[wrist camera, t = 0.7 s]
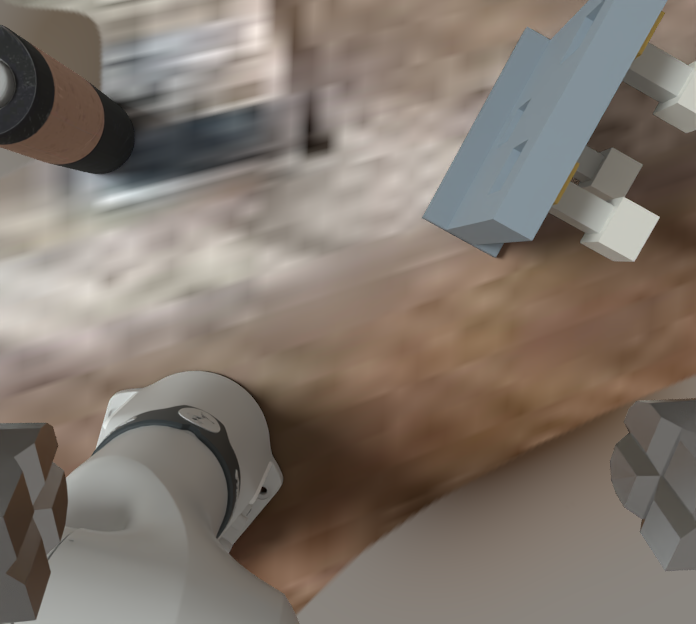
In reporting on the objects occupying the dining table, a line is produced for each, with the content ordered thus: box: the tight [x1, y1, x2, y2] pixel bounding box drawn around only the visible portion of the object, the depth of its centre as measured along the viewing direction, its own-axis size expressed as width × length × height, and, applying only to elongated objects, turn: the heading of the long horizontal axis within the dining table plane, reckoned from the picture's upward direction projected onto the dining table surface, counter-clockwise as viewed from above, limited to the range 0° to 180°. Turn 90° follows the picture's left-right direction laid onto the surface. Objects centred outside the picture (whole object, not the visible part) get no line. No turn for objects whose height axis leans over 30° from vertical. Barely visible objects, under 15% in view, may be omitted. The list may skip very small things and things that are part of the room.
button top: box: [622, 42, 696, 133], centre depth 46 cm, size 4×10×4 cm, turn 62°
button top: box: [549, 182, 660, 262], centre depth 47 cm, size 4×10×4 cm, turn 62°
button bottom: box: [573, 146, 643, 201], centre depth 55 cm, size 4×10×4 cm, turn 62°
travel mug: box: [0, 25, 134, 174], centre depth 51 cm, size 8×8×20 cm
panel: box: [422, 0, 667, 257], centre depth 51 cm, size 20×8×20 cm, turn 152°
